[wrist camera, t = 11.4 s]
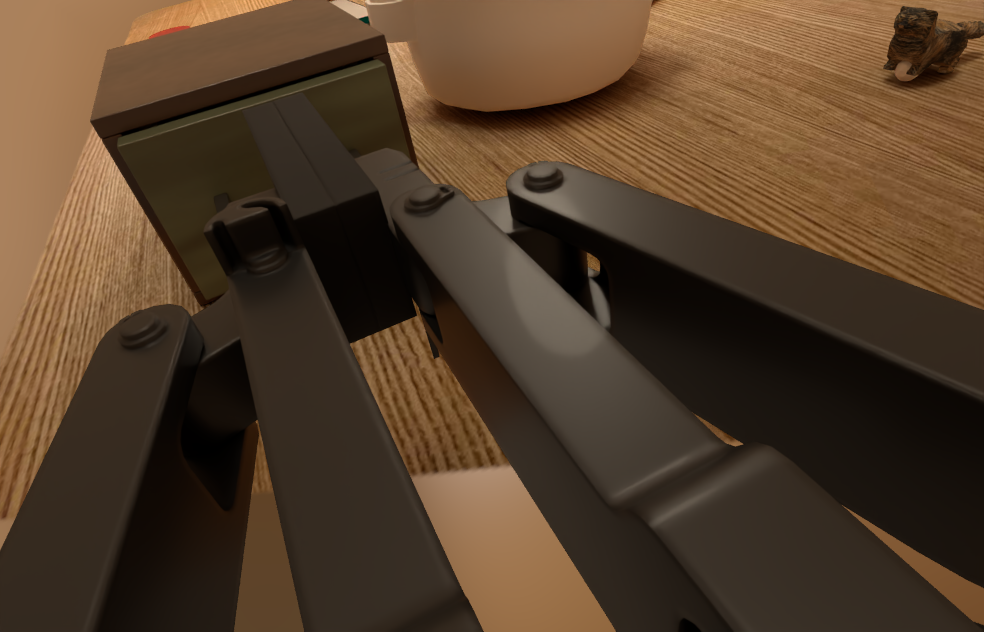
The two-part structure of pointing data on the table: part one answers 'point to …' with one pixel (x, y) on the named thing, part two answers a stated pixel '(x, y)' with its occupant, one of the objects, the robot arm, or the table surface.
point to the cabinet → (226, 75)
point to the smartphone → (353, 9)
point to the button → (169, 31)
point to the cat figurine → (927, 42)
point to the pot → (514, 47)
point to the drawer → (247, 154)
